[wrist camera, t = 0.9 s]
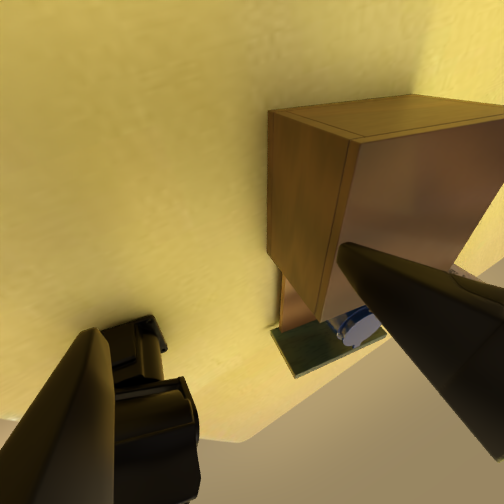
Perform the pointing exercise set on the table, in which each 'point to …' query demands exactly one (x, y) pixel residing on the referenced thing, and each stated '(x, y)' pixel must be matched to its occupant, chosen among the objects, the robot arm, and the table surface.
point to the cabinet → (377, 186)
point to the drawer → (308, 336)
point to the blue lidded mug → (354, 326)
